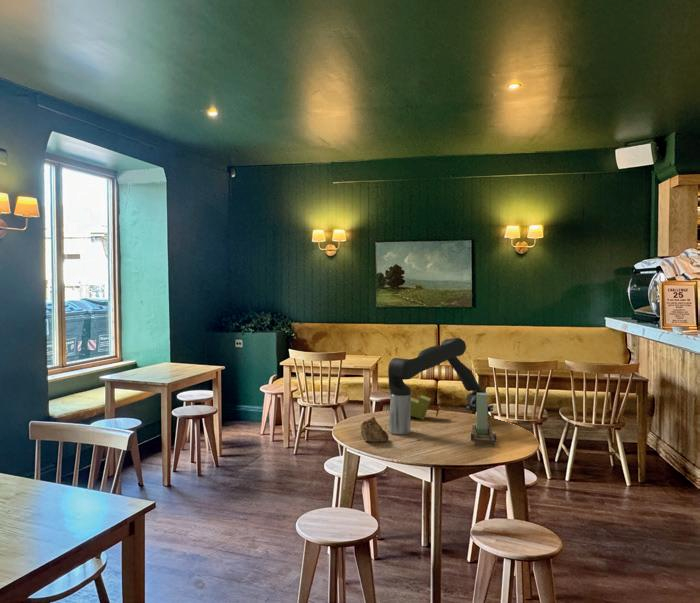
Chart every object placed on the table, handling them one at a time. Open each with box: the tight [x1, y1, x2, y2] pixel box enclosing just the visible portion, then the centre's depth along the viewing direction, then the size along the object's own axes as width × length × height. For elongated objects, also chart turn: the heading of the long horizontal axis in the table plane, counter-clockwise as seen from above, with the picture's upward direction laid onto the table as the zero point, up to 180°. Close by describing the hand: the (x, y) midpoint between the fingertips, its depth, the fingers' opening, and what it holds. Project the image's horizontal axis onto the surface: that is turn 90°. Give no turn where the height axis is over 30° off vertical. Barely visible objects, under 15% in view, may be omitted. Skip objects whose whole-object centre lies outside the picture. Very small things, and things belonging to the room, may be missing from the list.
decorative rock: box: [360, 416, 390, 443], centre depth 213 cm, size 12×6×11 cm, turn 105°
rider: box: [475, 392, 489, 434], centre depth 226 cm, size 6×5×17 cm
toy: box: [411, 394, 441, 421], centre depth 256 cm, size 9×12×20 cm
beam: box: [470, 425, 497, 448], centre depth 218 cm, size 24×10×3 cm, turn 169°
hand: (481, 411), depth 231 cm, fingers closed
